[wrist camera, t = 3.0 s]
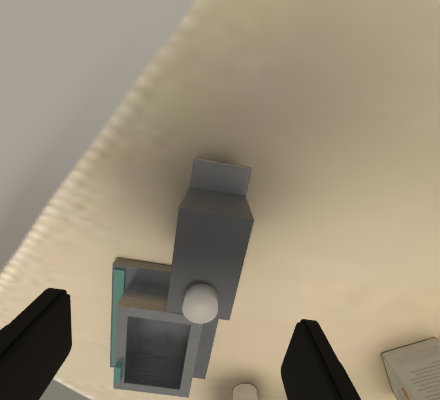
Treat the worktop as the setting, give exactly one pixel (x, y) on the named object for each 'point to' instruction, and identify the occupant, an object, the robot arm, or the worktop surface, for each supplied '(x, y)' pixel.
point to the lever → (210, 242)
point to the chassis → (154, 333)
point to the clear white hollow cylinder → (245, 392)
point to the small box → (415, 370)
